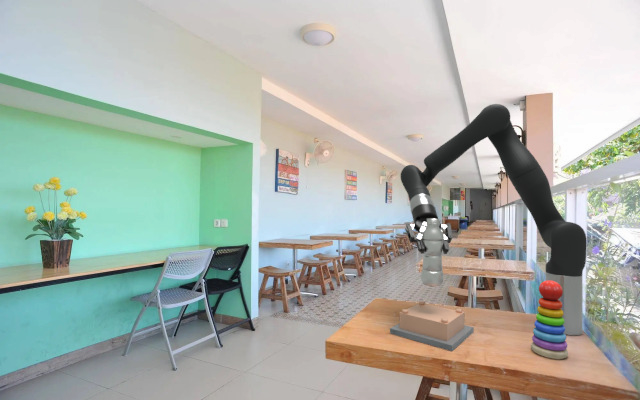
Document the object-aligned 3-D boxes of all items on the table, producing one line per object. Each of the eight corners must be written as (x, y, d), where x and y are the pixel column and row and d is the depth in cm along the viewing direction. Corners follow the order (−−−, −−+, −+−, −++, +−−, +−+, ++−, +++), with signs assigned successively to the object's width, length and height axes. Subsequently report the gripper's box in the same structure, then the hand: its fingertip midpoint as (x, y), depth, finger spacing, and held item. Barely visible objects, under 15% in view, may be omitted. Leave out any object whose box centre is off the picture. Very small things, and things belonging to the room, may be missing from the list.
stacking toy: (527, 352, 87) (527, 279, 87) (535, 344, 93) (535, 275, 93) (564, 363, 81) (564, 285, 82) (570, 353, 87) (570, 280, 87)
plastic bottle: (416, 285, 100) (417, 218, 101) (428, 282, 105) (429, 218, 105) (436, 290, 96) (437, 219, 96) (448, 286, 100) (448, 218, 100)
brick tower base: (416, 318, 113) (416, 297, 113) (473, 332, 101) (473, 309, 101) (389, 333, 99) (390, 310, 99) (452, 351, 87) (452, 324, 87)
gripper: (403, 202, 108) (412, 243, 96) (448, 203, 108) (463, 244, 96) (399, 218, 113) (407, 259, 101) (442, 218, 113) (455, 260, 101)
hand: (434, 252), depth 99 cm, fingers closed on plastic bottle, 6 cm apart
